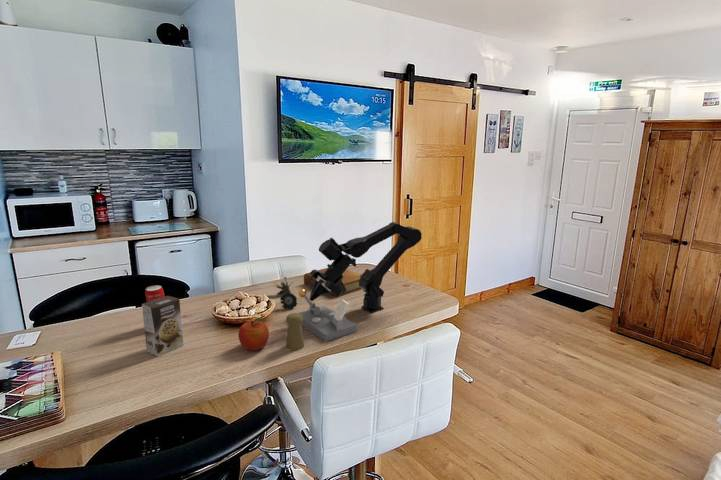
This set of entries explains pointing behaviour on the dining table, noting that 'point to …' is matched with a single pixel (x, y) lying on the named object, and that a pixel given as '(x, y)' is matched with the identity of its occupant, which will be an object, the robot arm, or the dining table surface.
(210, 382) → the dining table surface
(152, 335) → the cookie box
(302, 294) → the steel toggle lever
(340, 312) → the cream paddle switch
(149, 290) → the beverage can
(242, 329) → the fruit
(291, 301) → the artificial flower
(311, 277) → the diary
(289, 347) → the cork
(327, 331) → the switch panel
